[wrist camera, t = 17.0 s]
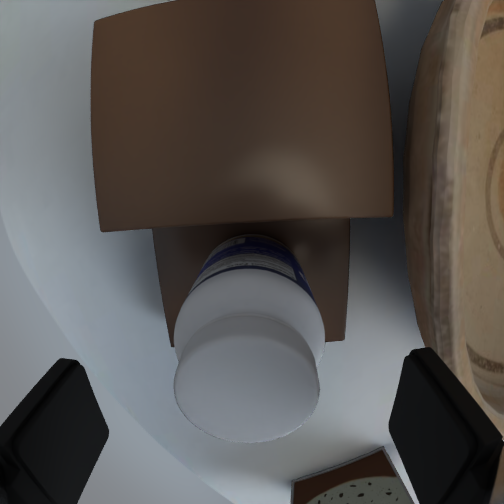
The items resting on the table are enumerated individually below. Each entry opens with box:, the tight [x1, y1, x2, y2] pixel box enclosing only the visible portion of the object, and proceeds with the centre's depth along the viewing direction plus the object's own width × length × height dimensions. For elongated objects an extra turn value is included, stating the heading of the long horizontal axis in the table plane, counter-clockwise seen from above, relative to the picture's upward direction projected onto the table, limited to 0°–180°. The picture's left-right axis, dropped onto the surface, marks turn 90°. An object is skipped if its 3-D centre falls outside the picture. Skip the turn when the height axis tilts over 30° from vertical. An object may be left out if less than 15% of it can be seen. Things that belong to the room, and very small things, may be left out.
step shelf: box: [91, 0, 394, 347], centre depth 14 cm, size 10×16×8 cm, turn 3°
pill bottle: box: [174, 234, 325, 443], centre depth 12 cm, size 5×5×9 cm
